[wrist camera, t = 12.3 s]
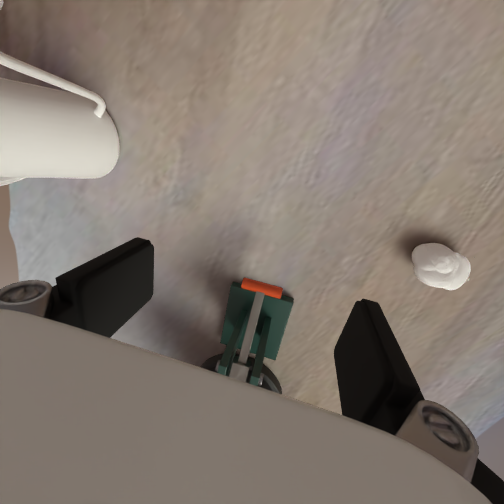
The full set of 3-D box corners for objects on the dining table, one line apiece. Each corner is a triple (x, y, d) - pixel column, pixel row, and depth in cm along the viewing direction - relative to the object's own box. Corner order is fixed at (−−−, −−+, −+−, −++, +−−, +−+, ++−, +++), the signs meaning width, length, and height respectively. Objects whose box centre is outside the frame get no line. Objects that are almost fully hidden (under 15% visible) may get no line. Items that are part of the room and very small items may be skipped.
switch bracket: (233, 281, 38) (202, 333, 26) (293, 298, 37) (289, 361, 25) (222, 337, 43) (192, 403, 31) (276, 354, 42) (265, 429, 30)
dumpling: (396, 271, 33) (405, 277, 29) (414, 236, 32) (425, 237, 28) (453, 291, 31) (470, 301, 27) (473, 255, 30) (494, 259, 26)
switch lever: (245, 277, 32) (242, 277, 30) (282, 287, 31) (283, 288, 29) (219, 372, 31) (214, 381, 29) (257, 385, 31) (255, 394, 28)
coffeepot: (175, 121, 31) (20, 70, 14) (67, 210, 40) (-112, 247, 23) (126, 36, 29) (-133, -148, 12) (22, 150, 38) (-216, 140, 20)
